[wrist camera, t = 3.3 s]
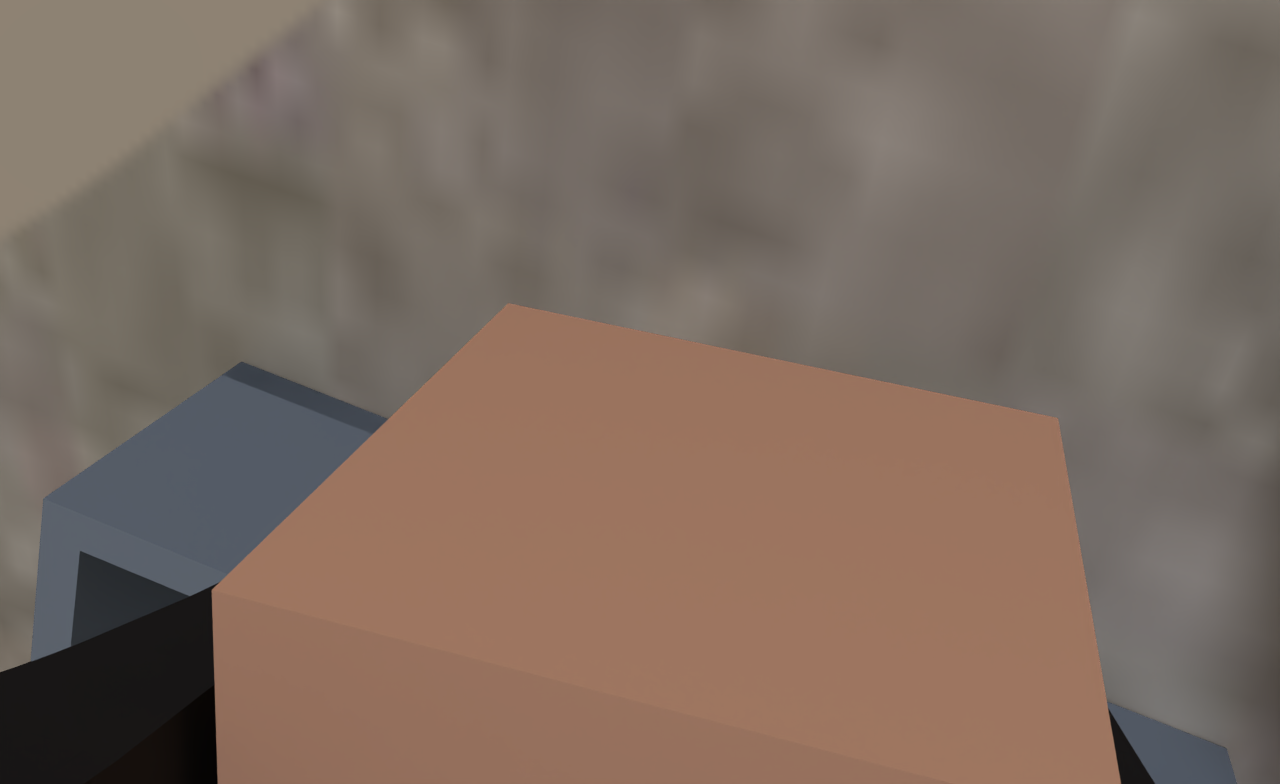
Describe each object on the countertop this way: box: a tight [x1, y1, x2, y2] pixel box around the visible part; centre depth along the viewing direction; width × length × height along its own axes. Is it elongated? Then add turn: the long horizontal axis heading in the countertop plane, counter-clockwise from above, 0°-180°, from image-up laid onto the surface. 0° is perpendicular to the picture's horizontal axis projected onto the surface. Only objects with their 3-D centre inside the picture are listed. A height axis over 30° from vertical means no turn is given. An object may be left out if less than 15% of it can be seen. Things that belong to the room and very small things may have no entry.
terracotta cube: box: [212, 303, 1121, 784], centre depth 10 cm, size 5×5×5 cm
